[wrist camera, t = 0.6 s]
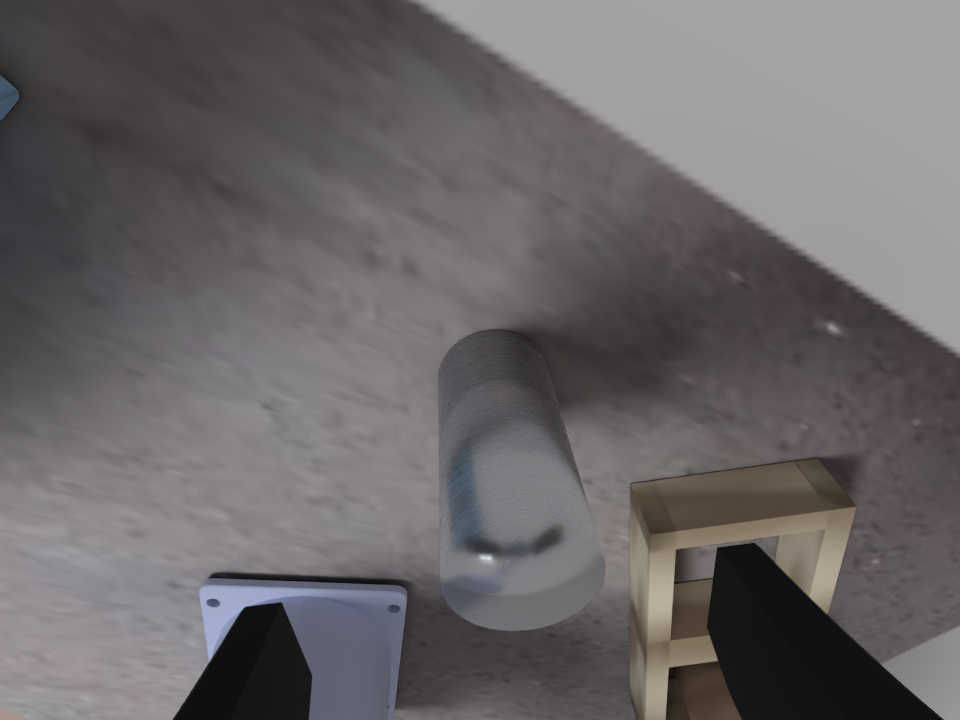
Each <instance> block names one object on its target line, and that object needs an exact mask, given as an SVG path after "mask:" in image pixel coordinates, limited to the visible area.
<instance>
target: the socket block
mask: <svg viewBox="0 0 960 720" xmlns="http://www.w3.org/2000/svg"><path fill="white" fill-rule="evenodd" d="M856 508H857V506H856V505H855V504H854V503H853V501H852V500H851V499H850V498H849V497H848V495H847V494H846V493H845V492H844V490H843V489H842V488H841V487H840V485H839V484H838V483H837V482H836V480H835V479H834V478H833V477H832V476H831V474H830V473H829V472H828V471H827V469H826V468H825V467H824V466H823V464H822V463H821V462H820V461H819V460H818V458H815V459H808V460H801V461H793V462H786V463H779V464H772V465H764V466H757V467H750V468H743V469H735V470H728V471H721V472H714V473H706V474H699V475H692V476H685V477H677V478H670V479H663V480H656V481H648V482H641V483H634V484H630V697H631V701H632V704H633V708H634V712H635V715H636V719H637V720H742V719H741V717H740V715H739V713H738V710H737V708H736V706H735V704H734V702H733V699H732V697H731V695H730V693H729V690H728V688H727V685H726V682H725V679H724V676H723V673H722V671H721V668H720V665H719V662H718V659H717V656H716V653H715V650H714V647H713V644H712V641H711V638H710V635H709V632H708V629H707V620H708V612H709V605H710V598H711V590H712V583H713V579H708V580H701V581H693V582H686V583H678V584H674V572H675V555H676V549H683V548H690V547H698V546H705V545H712V544H720V543H727V542H734V541H742V540H749V539H756V538H764V537H771V536H778V535H780V536H779V541H778V547H777V552H776V558H775V563H776V564H777V565H778V566H779V567H780V568H781V569H782V570H783V571H784V572H785V573H786V574H787V575H788V576H789V577H790V578H791V579H792V580H793V581H794V582H795V583H796V584H797V585H798V586H799V587H800V588H801V589H802V590H803V591H804V592H805V593H806V594H807V595H808V596H809V597H810V598H811V599H812V600H813V601H814V602H815V603H816V604H817V605H818V606H819V607H820V608H821V609H822V610H823V611H824V612H825V613H826V614H827V615H828V611H829V608H830V604H831V600H832V597H833V593H834V589H835V585H836V582H837V578H838V574H839V571H840V567H841V563H842V559H843V556H844V552H845V548H846V545H847V541H848V537H849V534H850V530H851V526H852V522H853V519H854V515H855V511H856ZM669 667H673V670H674V673H675V676H676V678H670V679H668V672H669Z"/></svg>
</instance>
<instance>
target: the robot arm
mask: <svg viewBox="0 0 960 720" xmlns="http://www.w3.org/2000/svg"><path fill="white" fill-rule="evenodd" d="M199 595H200V602H201V609H202V616H203V623H204V630H205V637H206V643H207V650H208V657H209V664H208V665H207V667H206V669H205V670H204V672H203V673H202V675H201V677H200V678H199V680H198V681H197V683H196V684H195V686H194V688H193V689H192V691H191V692H190V694H189V696H188V697H187V699H186V700H185V702H184V703H183V705H182V706H181V708H180V709H179V711H178V712H177V714H176V715H175V717H174V718H173V720H393V718H394V709H395V701H396V692H397V683H398V675H399V666H400V657H401V649H402V640H403V631H404V623H405V614H406V605H407V591H406V589H405V588H403V587H401V586H397V585H377V584H351V583H325V582H299V581H273V580H247V579H221V578H212V579H207V580H205V581H204V582H203V583H202V585H201V588H200V591H199ZM707 629H708V632H709V635H710V638H711V641H712V644H713V647H714V650H715V653H716V656H717V659H718V662H719V665H720V668H721V671H722V673H723V676H724V679H725V682H726V685H727V688H728V690H729V693H730V695H731V697H732V699H733V702H734V704H735V706H736V708H737V710H738V713H739V715H740V717H741V719H742V720H943V719H942V718H941V717H940V716H938V714H936V713H935V712H934V711H933V710H932V709H931V708H929V707H928V706H927V705H926V704H924V703H923V702H922V701H921V700H920V699H919V698H918V697H916V696H915V695H914V694H913V693H912V692H911V691H910V690H909V689H907V688H906V687H905V686H904V685H903V684H902V683H901V682H899V681H898V680H897V679H896V678H895V677H894V676H893V675H892V674H890V673H889V672H888V671H887V670H886V669H885V668H884V667H883V666H882V665H881V664H880V663H878V662H877V661H876V660H875V659H874V658H873V657H872V656H871V655H870V654H869V653H868V652H867V651H865V650H864V649H863V648H862V647H861V646H860V645H859V644H858V643H857V642H856V641H855V640H853V639H852V638H851V637H850V636H849V635H848V634H847V633H846V632H845V631H844V630H843V629H842V628H841V627H840V626H839V625H838V624H837V623H835V622H834V621H833V620H832V619H831V618H830V617H829V616H828V615H827V614H826V613H825V612H824V611H823V610H822V609H821V608H820V607H819V606H818V605H817V604H816V603H815V602H814V601H813V600H812V599H811V598H810V597H809V596H808V595H807V594H806V593H805V592H804V591H803V590H802V589H801V588H800V587H799V586H798V585H797V584H796V583H795V582H794V581H793V580H792V579H791V578H790V577H789V576H788V575H787V574H786V573H785V572H784V571H783V570H782V569H781V568H780V567H779V566H778V565H777V564H776V563H775V562H774V561H773V560H772V559H771V558H770V557H769V556H768V555H767V554H766V553H765V552H764V551H763V550H762V549H761V548H760V547H759V546H758V545H756V544H755V543H750V544H742V545H734V546H726V547H718V548H717V554H716V561H715V569H714V576H713V583H712V590H711V598H710V605H709V612H708V620H707Z"/></svg>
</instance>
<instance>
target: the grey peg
mask: <svg viewBox="0 0 960 720" xmlns="http://www.w3.org/2000/svg"><path fill="white" fill-rule="evenodd" d="M438 421H439V537H440V587H441V592H442V595H443V597H444V599H445V601H446V603H447V604H448V605H449V606H450V608H451V609H452V610H453V611H454V612H455V613H457V614H458V615H459V616H461V617H462V618H464V619H465V620H467V621H469V622H471V623H473V624H476V625H479V626H482V627H486V628H489V629H495V630H503V631H524V630H532V629H538V628H542V627H546V626H550V625H553V624H556V623H558V622H561V621H563V620H565V619H567V618H569V617H571V616H573V615H574V614H576V613H577V612H579V611H580V610H582V609H583V608H584V607H585V606H586V605H588V604H589V603H590V602H591V601H592V599H593V598H594V597H595V596H596V594H597V593H598V591H599V590H600V588H601V586H602V583H603V581H604V577H605V560H604V557H603V554H602V550H601V547H600V543H599V540H598V537H597V533H596V530H595V526H594V523H593V520H592V516H591V513H590V510H589V506H588V503H587V499H586V496H585V493H584V489H583V486H582V482H581V479H580V476H579V472H578V469H577V466H576V462H575V459H574V455H573V452H572V449H571V445H570V442H569V438H568V435H567V432H566V428H565V425H564V422H563V418H562V415H561V411H560V408H559V405H558V401H557V398H556V394H555V391H554V388H553V384H552V381H551V378H550V374H549V371H548V367H547V364H546V361H545V358H544V356H543V354H542V353H541V351H540V350H539V349H538V347H537V346H536V345H535V344H534V343H532V342H531V341H530V340H529V339H527V338H525V337H523V336H521V335H519V334H517V333H513V332H510V331H504V330H487V331H482V332H478V333H475V334H472V335H470V336H467V337H465V338H464V339H462V340H460V341H459V342H458V343H456V344H455V345H454V346H453V347H452V348H451V349H450V350H449V351H448V352H447V354H446V355H445V357H444V359H443V360H442V363H441V365H440V368H439V373H438Z"/></svg>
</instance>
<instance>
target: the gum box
mask: <svg viewBox="0 0 960 720" xmlns="http://www.w3.org/2000/svg"><path fill="white" fill-rule="evenodd" d="M19 94H20V92H19V91H18V90H17V89H16V88H15V87H14V86H12V85H11V84H10V83H9V82H8V81H7V80H6V79H4V78H3V77H2V76H1V75H0V121H1V120H2V119H3V118H4V117H5V116H6V115H7V113H8V112H9V111H10V110H11V108H12V107H13V106H14V105H15V103H16V102H17V101H18V100H19Z"/></svg>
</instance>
